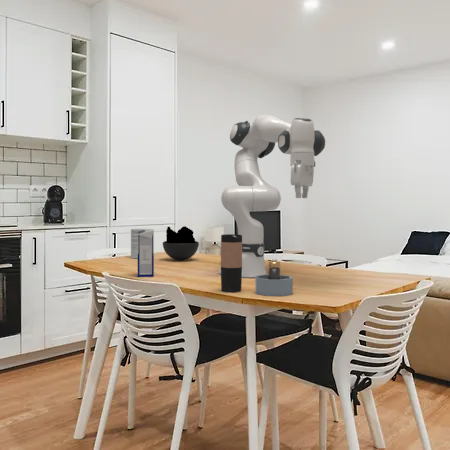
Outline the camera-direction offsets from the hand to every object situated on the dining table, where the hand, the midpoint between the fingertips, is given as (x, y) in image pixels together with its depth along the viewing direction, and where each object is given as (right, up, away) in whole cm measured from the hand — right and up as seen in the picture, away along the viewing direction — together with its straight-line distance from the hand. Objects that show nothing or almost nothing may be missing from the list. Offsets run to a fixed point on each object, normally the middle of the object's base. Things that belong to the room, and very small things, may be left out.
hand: (301, 198), depth 186 cm
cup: (-12, -34, -13) cm, 38 cm away
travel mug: (-27, -34, -9) cm, 44 cm away
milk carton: (-63, -32, +26) cm, 76 cm away
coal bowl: (-53, -30, +86) cm, 106 cm away
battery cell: (-12, -33, -12) cm, 37 cm away
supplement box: (-76, -29, +97) cm, 127 cm away
